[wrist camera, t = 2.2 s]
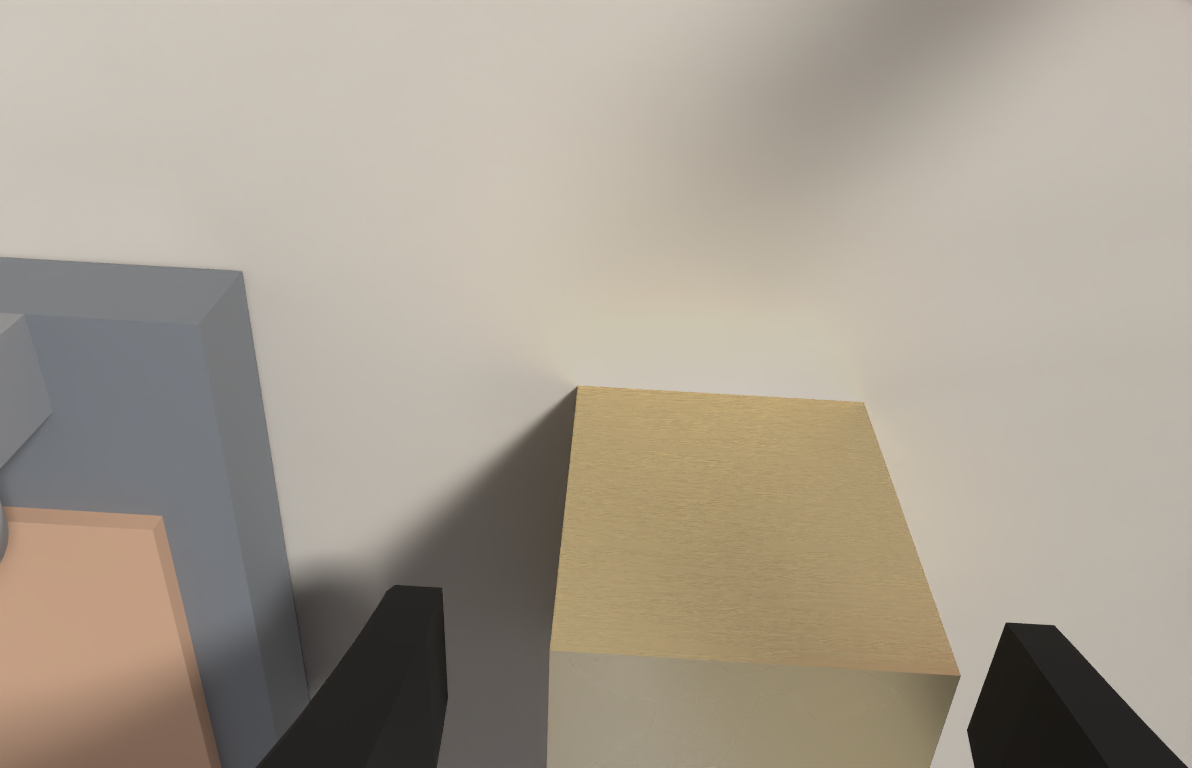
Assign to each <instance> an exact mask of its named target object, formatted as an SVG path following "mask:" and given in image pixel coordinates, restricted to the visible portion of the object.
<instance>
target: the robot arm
mask: <svg viewBox="0 0 1192 768" xmlns="http://www.w3.org/2000/svg"><path fill="white" fill-rule="evenodd" d="M447 700H448V691H447V671H446V652H445V633H444V613H443V594H442V588H435V587H419V586H402V585H395V586H393V587H392V588H390V589H389V590H388V591H387V592H386V593H385V595H384V597H383V598H382V600H381V602H380V603H379V605H378V607H377V608H376V610H375V611H374V613H373V614H372V616H371V618H370V619H369V621H368V622H367V624H366V625H365V627H364V628H363V630H362V631H361V633H360V634H359V636H358V637H357V639H356V640H355V642H354V643H353V644H352V646H351V647H350V649H349V650H348V651H347V653H346V654H345V656H344V657H343V659H342V660H341V661H340V663H339V664H338V666H337V667H336V668H335V670H334V671H333V672H332V674H331V675H330V676H329V678H328V679H327V680H326V682H325V683H324V684H323V685H322V687H321V688H320V689H319V691H318V692H317V693H316V695H315V696H314V697H313V699H312V700H311V701H310V702H309V704H308V705H307V706H306V708H305V709H304V710H303V712H302V713H301V714H300V715H299V717H298V718H297V719H296V720H295V722H294V723H293V724H292V725H291V726H290V728H289V729H288V730H287V731H286V732H285V734H284V735H283V736H282V737H281V738H280V739H279V741H278V742H277V743H276V744H275V745H274V746H273V748H272V749H271V750H270V751H269V752H268V753H267V755H266V756H265V757H264V758H263V759H262V761H261V762H260V763H259V764H258V765H257V766H256V768H437V762H438V756H439V750H440V744H441V738H442V732H443V725H444V719H445V712H446V706H447ZM967 732H968V737H969V742H970V747H971V753H972V758H973V763H974V768H1188V767H1187V766H1186V765H1185V764H1184V763H1183V762H1182V761H1181V760H1180V759H1179V758H1178V757H1177V756H1176V755H1175V754H1174V753H1173V752H1172V751H1171V750H1170V749H1169V748H1168V747H1167V746H1166V745H1165V744H1164V742H1163V741H1162V740H1161V739H1160V738H1159V737H1158V736H1157V735H1156V734H1155V733H1154V732H1153V731H1152V730H1151V729H1150V728H1149V727H1148V726H1147V725H1146V724H1145V722H1144V721H1143V720H1142V719H1141V718H1140V717H1139V716H1138V715H1137V714H1136V713H1135V712H1134V711H1133V710H1132V709H1131V708H1130V706H1129V705H1128V704H1127V703H1126V702H1125V701H1124V700H1123V699H1122V698H1121V697H1120V696H1119V695H1118V694H1117V692H1116V691H1115V690H1114V689H1113V688H1112V687H1111V686H1110V685H1109V684H1108V683H1107V682H1106V681H1105V679H1104V678H1103V677H1102V676H1101V675H1100V674H1099V673H1098V672H1097V671H1096V670H1095V669H1094V667H1093V666H1092V665H1091V664H1090V663H1089V662H1088V661H1087V660H1086V659H1085V658H1084V657H1083V655H1082V654H1081V653H1080V652H1079V651H1078V650H1077V649H1076V648H1075V647H1074V646H1073V645H1072V644H1071V643H1070V641H1069V640H1068V639H1067V638H1066V637H1065V636H1064V635H1063V634H1062V633H1061V632H1060V631H1059V630H1058V629H1057V628H1056V627H1055V626H1054V625H1038V624H1022V623H1006V624H1005V627H1004V629H1003V632H1002V635H1001V638H1000V640H999V643H998V646H997V649H996V651H995V654H994V657H993V660H992V663H991V665H990V668H989V671H988V674H987V676H986V679H985V682H984V685H983V687H982V690H981V693H980V696H979V698H978V701H977V704H976V707H975V709H974V712H973V715H972V718H971V720H970V723H969V726H968V729H967Z"/></svg>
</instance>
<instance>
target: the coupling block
mask: <svg viewBox="0 0 1192 768" xmlns="http://www.w3.org/2000/svg"><path fill="white" fill-rule="evenodd" d="M960 676H961V675H960V672H959V670H958V667H957V664H956V661H955V658H954V656H953V653H952V650H951V647H950V644H949V641H948V639H947V636H946V633H945V630H944V627H943V624H942V622H941V619H940V616H939V613H938V610H937V608H936V605H935V602H934V599H933V596H932V593H931V591H930V588H929V585H928V582H927V579H926V577H925V574H924V571H923V568H922V565H921V562H920V560H919V557H918V554H917V551H916V548H915V545H914V543H913V540H912V537H911V534H910V531H909V529H908V526H907V523H906V520H905V517H904V514H903V512H902V509H901V506H900V503H899V500H898V498H897V495H896V492H895V489H894V486H893V483H892V481H891V478H890V475H889V472H888V469H887V466H886V464H885V461H884V458H883V455H882V452H881V450H880V447H879V444H878V441H877V438H876V435H875V433H874V430H873V427H872V424H871V421H870V419H869V416H868V413H867V410H866V407H865V404H864V402H849V401H832V400H815V399H798V398H781V397H764V396H747V395H729V394H712V393H695V392H678V391H661V390H644V389H627V388H610V387H593V386H578V390H577V399H576V409H575V418H574V427H573V437H572V446H571V455H570V465H569V474H568V484H567V493H566V502H565V512H564V521H563V530H562V540H561V549H560V559H559V568H558V577H557V587H556V596H555V605H554V615H553V624H552V634H551V643H550V658H549V695H548V732H547V768H930V765H931V762H932V759H933V756H934V753H935V750H936V747H937V744H938V741H939V738H940V735H941V732H942V729H943V726H944V724H945V721H946V718H947V715H948V712H949V709H950V706H951V703H952V700H953V697H954V694H955V691H956V688H957V685H958V682H959V679H960Z"/></svg>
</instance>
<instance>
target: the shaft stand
mask: <svg viewBox="0 0 1192 768" xmlns="http://www.w3.org/2000/svg"><path fill="white" fill-rule="evenodd" d="M309 702H310V701H309V694H308V688H307V682H306V675H305V669H304V662H303V656H302V650H301V643H300V637H299V631H298V624H297V618H296V611H295V605H294V599H293V592H292V586H291V579H290V573H289V567H288V560H287V554H286V548H285V541H284V535H283V528H282V522H281V516H280V509H279V503H278V496H277V490H276V484H275V477H274V471H273V465H272V458H271V452H270V445H269V439H268V433H267V426H266V420H265V413H264V407H263V401H262V394H261V388H260V382H259V375H258V369H257V362H256V356H255V350H254V343H253V337H252V331H251V324H250V318H249V311H248V305H247V299H246V292H245V286H244V279H243V273H242V271H230V270H212V269H195V268H177V267H160V266H143V265H125V264H108V263H90V262H73V261H56V260H38V259H21V258H3V257H0V768H256V766H257V765H258V764H259V763H260V762H261V761H262V759H263V758H264V757H265V756H266V755H267V753H268V752H269V751H270V750H271V749H272V748H273V746H274V745H275V744H276V743H277V742H278V741H279V739H280V738H281V737H282V736H283V735H284V734H285V732H286V731H287V730H288V729H289V728H290V726H291V725H292V724H293V723H294V722H295V720H296V719H297V718H298V717H299V715H300V714H301V713H302V712H303V710H304V709H305V708H306V706H307V705H308V704H309Z"/></svg>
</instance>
